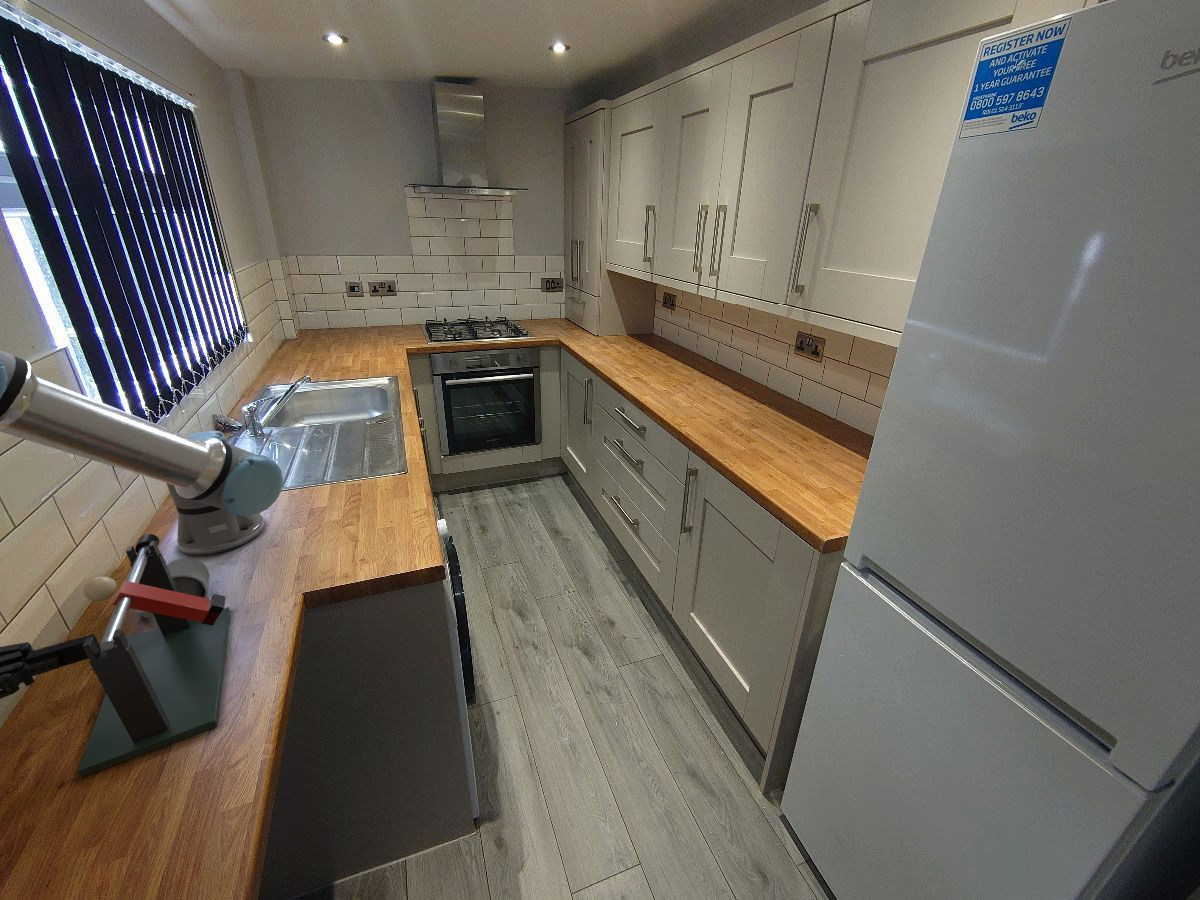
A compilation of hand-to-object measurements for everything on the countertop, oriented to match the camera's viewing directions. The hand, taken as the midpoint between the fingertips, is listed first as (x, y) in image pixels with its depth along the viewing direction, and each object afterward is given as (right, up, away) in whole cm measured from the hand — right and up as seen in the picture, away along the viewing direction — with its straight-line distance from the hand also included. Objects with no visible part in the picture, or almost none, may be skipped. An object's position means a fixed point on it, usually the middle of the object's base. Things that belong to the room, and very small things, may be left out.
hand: (96, 644), depth 71 cm
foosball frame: (+5, -8, +6) cm, 11 cm away
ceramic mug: (-6, -1, +22) cm, 23 cm away
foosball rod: (+11, +3, +8) cm, 14 cm away
